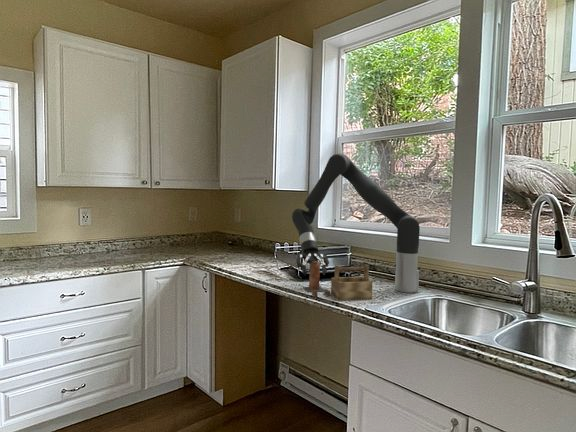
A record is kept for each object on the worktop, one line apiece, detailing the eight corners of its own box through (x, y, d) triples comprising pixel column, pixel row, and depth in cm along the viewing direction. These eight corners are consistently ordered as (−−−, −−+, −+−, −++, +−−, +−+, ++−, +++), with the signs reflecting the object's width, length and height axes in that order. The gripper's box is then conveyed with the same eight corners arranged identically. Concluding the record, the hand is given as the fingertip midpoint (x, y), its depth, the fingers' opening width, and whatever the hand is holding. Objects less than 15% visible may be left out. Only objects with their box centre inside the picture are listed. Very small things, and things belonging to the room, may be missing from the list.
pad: (319, 287, 179) (319, 286, 179) (325, 291, 172) (325, 290, 172) (302, 287, 178) (302, 286, 178) (307, 292, 170) (307, 291, 170)
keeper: (327, 294, 168) (327, 289, 168) (330, 296, 164) (330, 291, 164) (311, 294, 166) (312, 289, 166) (314, 297, 162) (314, 292, 162)
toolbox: (361, 292, 171) (362, 262, 170) (371, 298, 162) (373, 267, 161) (330, 293, 168) (331, 263, 167) (339, 300, 158) (340, 267, 158)
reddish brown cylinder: (316, 287, 177) (317, 260, 176) (319, 289, 173) (320, 262, 173) (309, 287, 176) (309, 260, 175) (311, 289, 173) (312, 262, 172)
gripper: (295, 239, 179) (301, 269, 168) (325, 239, 182) (333, 268, 172) (292, 249, 184) (297, 279, 174) (321, 249, 188) (328, 278, 177)
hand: (315, 274), depth 173 cm, fingers open, 8 cm apart
